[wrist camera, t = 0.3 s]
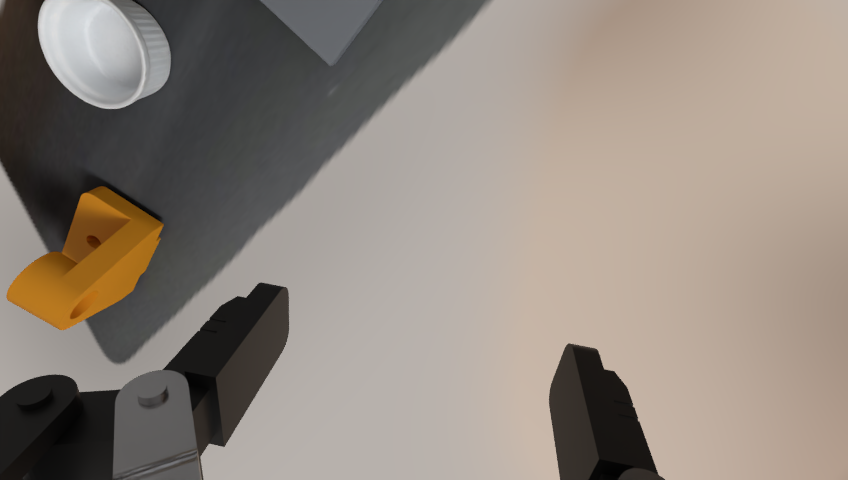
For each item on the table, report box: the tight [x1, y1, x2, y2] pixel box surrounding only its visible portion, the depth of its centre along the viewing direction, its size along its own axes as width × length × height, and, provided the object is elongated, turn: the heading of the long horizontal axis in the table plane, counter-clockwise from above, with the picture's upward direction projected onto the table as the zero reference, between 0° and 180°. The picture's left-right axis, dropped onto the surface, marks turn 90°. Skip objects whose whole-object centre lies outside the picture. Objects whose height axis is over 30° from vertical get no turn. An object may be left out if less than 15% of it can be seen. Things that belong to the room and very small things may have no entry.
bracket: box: [7, 186, 164, 330], centre depth 43 cm, size 11×7×12 cm, turn 144°
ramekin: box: [38, 0, 171, 109], centre depth 37 cm, size 9×9×4 cm
